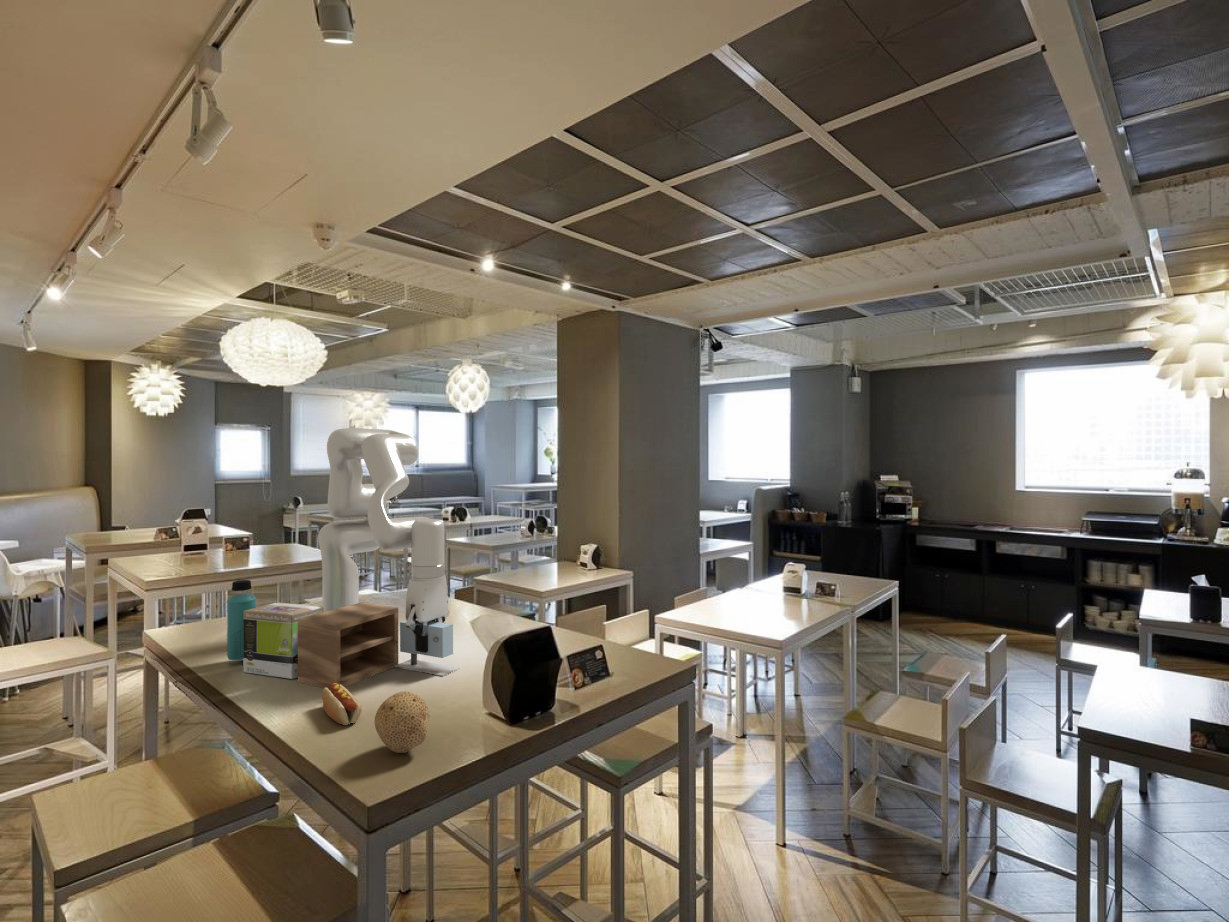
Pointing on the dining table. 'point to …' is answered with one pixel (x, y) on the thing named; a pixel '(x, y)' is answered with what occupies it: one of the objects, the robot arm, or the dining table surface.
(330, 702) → the food
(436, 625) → the blue box with dot
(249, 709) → the dining table surface
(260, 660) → the tea box
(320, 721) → the dining table surface
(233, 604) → the beverage bottle
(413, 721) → the natural sponge
